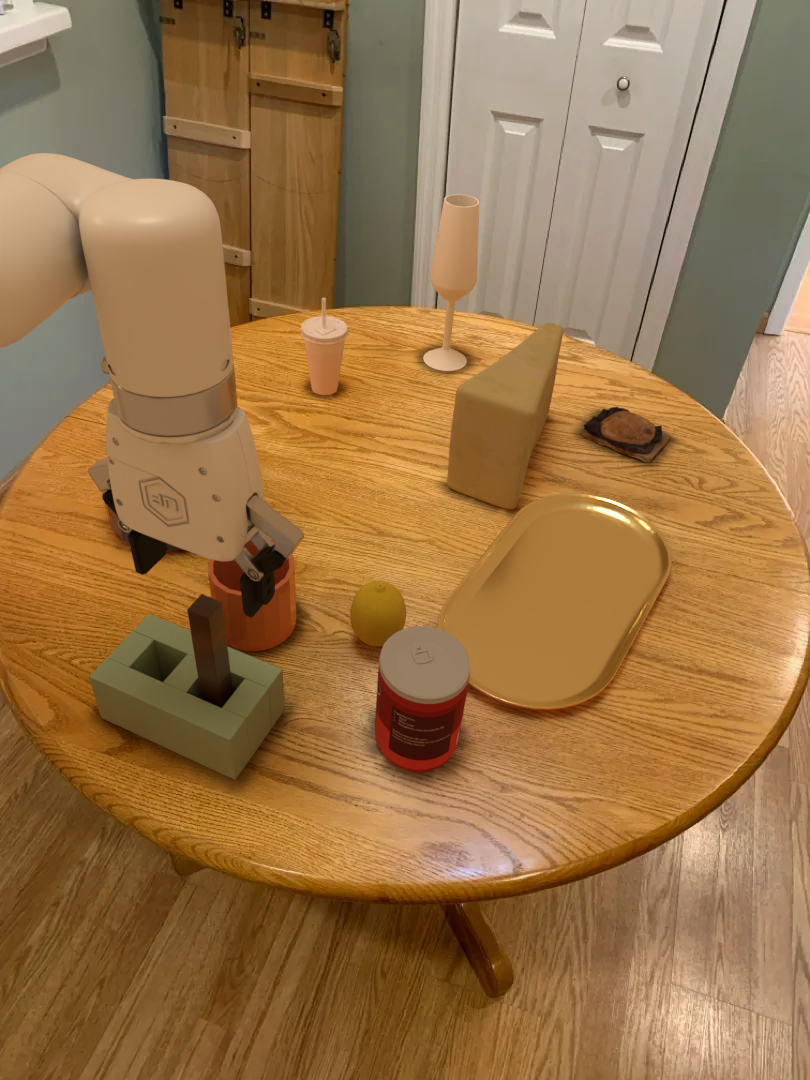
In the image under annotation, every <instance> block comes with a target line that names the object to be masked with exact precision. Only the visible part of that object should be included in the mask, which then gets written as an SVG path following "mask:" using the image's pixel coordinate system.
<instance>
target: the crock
mask: <svg viewBox="0 0 810 1080" xmlns="http://www.w3.org/2000/svg"><path fill="white" fill-rule="evenodd" d="M270 539H271V538H270ZM271 541H272V542H273V543H274V544H275V542H274V541H273V540H272V539H271ZM244 547H246V549H247V550H248V551H249V552H250V554H251V555H252V556H253V558H254V557H255V556H256V555H257V554H258V553H259V552H260V551H259V550H258V549H257V548H256V546H255V545H254V544H253V543H252V541H251V540H250V541H249V542H248V543H247V544H246V545H245V546H244ZM244 573H245V572H244V571H243V570H242V569H241V567H240V566H239V565H238V564H237V562H236V561H235V560H232V561H216V560H212V559H209V560H208V562H207V575H208V583H209V591H210V597H211V598H213V599H216V600H218V601H221V602H222V604H223V613H224V621H225V629H226V638H227V646H229V647H230V648H233V649H235V650H238V651H244V652H262V651H267V650H271V649H273V648H276V647H277V646H279V645H281V644H283V643H284V642H285V641H287V640H288V639H289V638H290V636H291V635H292V634H293V632H294V631H295V628H296V624H297V595H296V594H297V593H296V568H295V557H294V555H293V554H292V555H291V556H290V557H289V558H288V559H287V561H286V562H285V563H284V564H283V565H282V567H280V568H279V569H276V570H274V581H275V593H274V596H273V598H272V599H271V601H270V602H269V603H268V604H267V605H263V606H262V607H261V608H260V609H259V611H258V612H257V613H256V614H255V615H254V617H252V618H251V617H249V616H246V615H245V613H244V612H243V605H242V595H241V586H240V578H241V576H242V575H243V574H244Z"/></svg>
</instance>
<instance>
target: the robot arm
mask: <svg viewBox="0 0 810 1080" xmlns="http://www.w3.org/2000/svg"><path fill="white" fill-rule="evenodd" d="M224 255H225V254H224V246H223V235H222V227H221V222H220V216H219V213H218V211H217V208H216V206H215V204H214V202H213V201H212V200H211V198H210V197H209V196H208V195H207V194H206V193H205V192H203V191H202V190H200V189H199V188H197V187H195V186H193V185H191V184H190V183H186V182H181V181H177V180H172V179H165V178H135V179H134V178H130V177H128V176H124V175H121V174H118V173H115V172H113V171H110V170H107V169H104V168H102V167H99V166H97V165H93V164H91V163H88V162H86V161H83V160H80V159H78V158H74V157H72V156H67V155H64V154H60V153H59V154H58V153H54V152H53V153H52V152H38V153H31V154H28V155H25V156H22V157H19V158H17V159H15V160H13V161H11V162H9V163H7V164H5V165H3V166H2V167H0V349H2V348H4V347H8V346H10V345H13V344H15V343H17V342H18V341H20V340H22V339H23V338H25V337H26V336H27V335H29V334H30V333H31V332H33V331H34V330H36V328H38V327H39V326H40V325H41V324H42V323H43V322H45V321H46V320H47V319H48V318H50V317H51V316H52V315H53V314H54V313H55V312H56V311H58V310H59V309H60V308H61V307H62V306H64V304H65V303H67V302H68V301H69V300H71V299H73V298H76V297H78V296H81V295H83V294H86V293H88V292H91V293H92V294H91V295H92V298H93V304H94V308H95V313H96V318H97V323H98V325H99V326H98V328H99V333H100V336H101V342H102V347H103V352H104V356H103V358H102V360H101V370H102V371H101V372H103V373H104V374H106V375H109V380H110V386H111V390H112V395H113V398H112V399H111V400H110V401H109V403H108V404H107V414H106V422H105V423H106V424H105V445H106V446H105V447H106V448H105V449H106V458H100V459H99V460H97V461H96V462H95V463H94V464H92V465H91V466H90V467H89V468H88V469H87V472H88V474H89V476H90V478H91V479H92V481H93V482H94V484H95V486H96V487H97V488H98V490H99V491H100V492H101V493H102V492H103V493H104V494H101V495H102V497H101V498H102V500H103V503H104V502H105V503H106V504H107V505H108V506H109V507H110V508H111V510H112V511H113V512H114V513H115V514H116V515H117V516H118V517H119V520H118V526H119V527H120V529H121V530H123V531H124V532H127V533H129V535H128V539H129V543H130V544H129V543H128V544H129V548H130V553H131V556H132V562H133V565H134V570H135V572H136V573H137V574H140V575H142V576H143V575H146V574H148V573H149V572H150V571H151V570H152V569H153V568H154V567H155V566H156V565H157V564H158V563H159V562H160V561H161V560H162V559H163V558H164V557H165V556H166V555H167V553H168V549H167V544H166V543H168V544H170V545H173V546H176V547H178V548H181V549H182V550H184V551H186V552H189V553H192V554H194V555H198V556H201V557H203V558H206V559H209V560H210V559H212V560H216V561H232V560H235V561H236V562H237V564H238V565H239V566H240V567H241V569H242V570H243V571H244V572H245V573H244V574H243V575H242V576H241V578H240V586H241V595H242V605H243V612H244V613H245V615H246V616H249V617H251V618H252V617H254V615H255V614H256V613H257V612H258V611H259V609H260V608H261V607H262V606H263V605H267V604H268V603H269V602H270V601H271V599H272V598H273V596H274V593H275V581H274V570H276V569H279V568H280V567H282V565H283V564H284V563H285V562H286V561H287V559H288V558H289V557H290V556H291V555H293V554H294V553H295V551H296V549H297V548H298V547H299V545H300V544H301V543H302V541H303V540H304V538H305V534H304V531H302V529H301V528H299V527H298V526H296V525H295V524H294V523H293V522H291V521H290V520H289V519H288V518H286V517H285V516H283V514H281V513H280V512H279V511H277V510H276V509H275V508H273V507H272V506H271V505H270V504H268V503H267V502H266V497H265V490H264V489H265V488H264V482H263V475H262V471H261V465H260V460H259V455H258V449H257V447H256V442H255V438H254V436H253V432H252V428H251V426H250V423H249V419H248V417H247V413H246V411H245V410H244V409H242V408H240V407H239V406H238V394H237V384H236V372H235V363H234V353H233V351H234V350H233V342H232V331H231V329H232V328H231V320H230V309H229V308H230V307H229V300H228V298H229V297H228V289H227V279H226V278H227V277H226V267H225V257H224ZM105 503H104V504H105ZM271 539H272V540H273V541H274V542H275V544H274V543H273V542H272V541H271ZM250 540H251V541H252V543H253V544H254V545H255V546H256V548H257V549H258V550H259V551H260V552H259V553H258V554H257V555H256V556H255V557H254V558H253V556H252V555H251V554H250V552H249V551H248V550H247V549H246V547H244V546H245V545H246V544H247V543H248V542H249V541H250ZM181 549H180V550H181Z"/></svg>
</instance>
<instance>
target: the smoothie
mask: <svg viewBox="0 0 810 1080" xmlns="http://www.w3.org/2000/svg"><path fill="white" fill-rule="evenodd" d="M348 328H349V327H348V325H347V323H346V322H345V321H344V320H342V319H340V318H338V317H333V316H329V315H327V298H326V297H322V298H321V315H318V316H313V317H309V318H307V319H305V320H304V321H303V322H302V323H301V325H300V335H301V336H302V338H303V342H304V348H305V353H306V361H307V362H306V363H307V368H308V374H309V381H310V387H311V391H312V392H313V393H314V394H316V395H320V396H330V395H333V394H336V393H337V391H338V388H339V381H340V375H341V368H342V361H343V354H344V348H345V341H346V339H347V338H348V335H349V331H348Z"/></svg>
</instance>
